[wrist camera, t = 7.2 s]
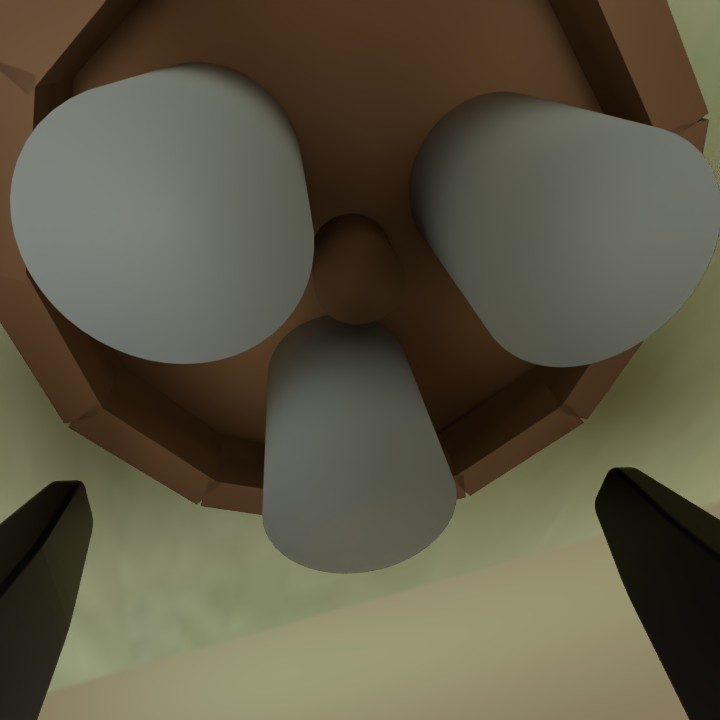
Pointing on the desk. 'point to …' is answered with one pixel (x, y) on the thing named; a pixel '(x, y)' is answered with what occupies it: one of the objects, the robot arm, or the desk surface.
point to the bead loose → (350, 451)
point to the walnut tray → (332, 206)
